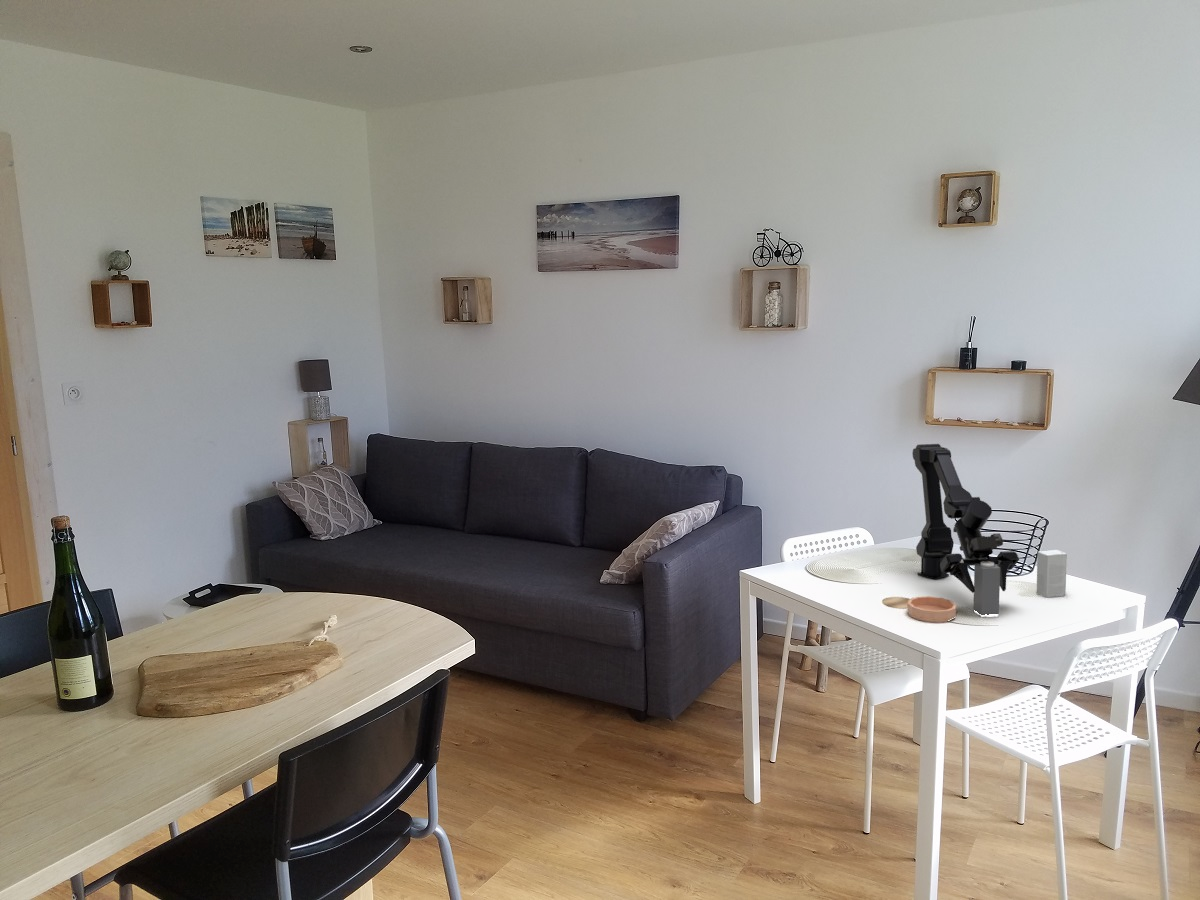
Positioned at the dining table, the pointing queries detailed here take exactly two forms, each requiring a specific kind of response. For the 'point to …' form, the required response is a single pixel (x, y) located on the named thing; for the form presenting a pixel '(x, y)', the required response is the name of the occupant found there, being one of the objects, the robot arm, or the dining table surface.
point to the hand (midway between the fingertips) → (989, 591)
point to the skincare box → (1051, 573)
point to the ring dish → (931, 609)
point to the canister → (986, 588)
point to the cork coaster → (896, 602)
